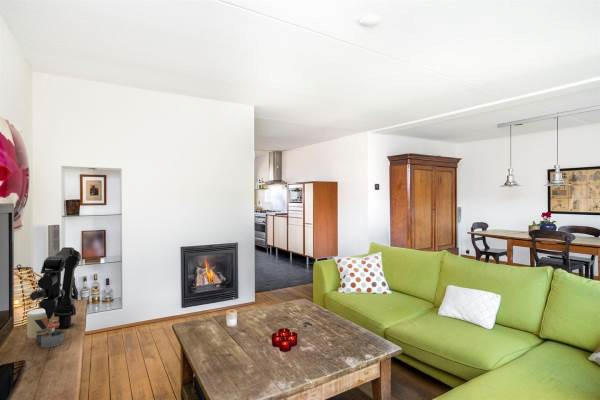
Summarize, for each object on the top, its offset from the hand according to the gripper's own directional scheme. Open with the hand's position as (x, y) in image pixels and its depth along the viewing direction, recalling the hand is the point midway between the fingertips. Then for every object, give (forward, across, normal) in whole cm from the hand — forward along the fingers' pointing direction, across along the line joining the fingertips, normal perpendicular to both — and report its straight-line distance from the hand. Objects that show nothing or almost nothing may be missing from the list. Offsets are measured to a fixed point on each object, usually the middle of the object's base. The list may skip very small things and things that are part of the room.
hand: (51, 315), depth 156 cm
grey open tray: (+12, +3, 0) cm, 13 cm away
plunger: (+8, +3, +1) cm, 9 cm away
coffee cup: (+13, -10, -8) cm, 18 cm away
